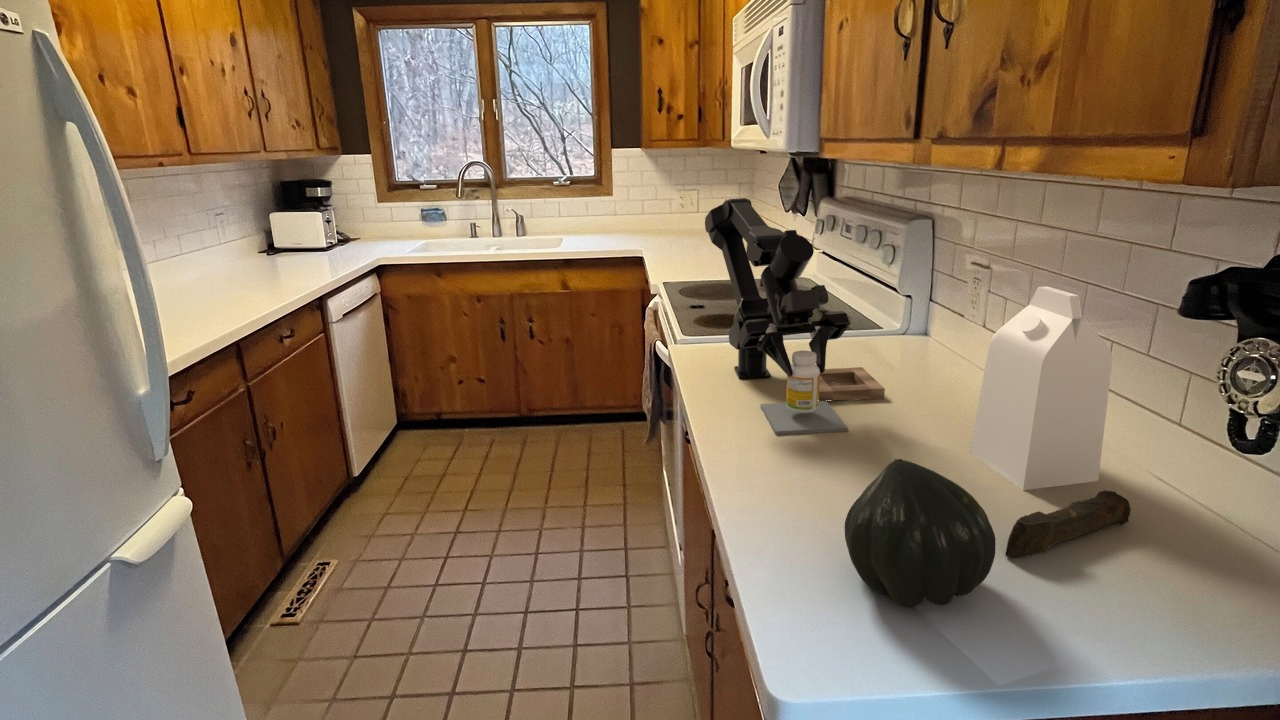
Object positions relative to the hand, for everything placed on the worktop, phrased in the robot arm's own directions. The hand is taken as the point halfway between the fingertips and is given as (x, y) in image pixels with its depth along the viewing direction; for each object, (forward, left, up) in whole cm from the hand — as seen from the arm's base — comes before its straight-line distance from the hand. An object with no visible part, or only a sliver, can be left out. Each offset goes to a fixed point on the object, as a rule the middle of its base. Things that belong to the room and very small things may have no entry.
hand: (806, 373), depth 116 cm
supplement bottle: (-1, 0, -7) cm, 7 cm away
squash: (+45, 0, -9) cm, 46 cm away
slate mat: (-1, 0, -9) cm, 9 cm away
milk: (+20, +28, -9) cm, 35 cm away
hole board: (-14, +11, -9) cm, 20 cm away
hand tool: (+38, +21, -9) cm, 45 cm away
